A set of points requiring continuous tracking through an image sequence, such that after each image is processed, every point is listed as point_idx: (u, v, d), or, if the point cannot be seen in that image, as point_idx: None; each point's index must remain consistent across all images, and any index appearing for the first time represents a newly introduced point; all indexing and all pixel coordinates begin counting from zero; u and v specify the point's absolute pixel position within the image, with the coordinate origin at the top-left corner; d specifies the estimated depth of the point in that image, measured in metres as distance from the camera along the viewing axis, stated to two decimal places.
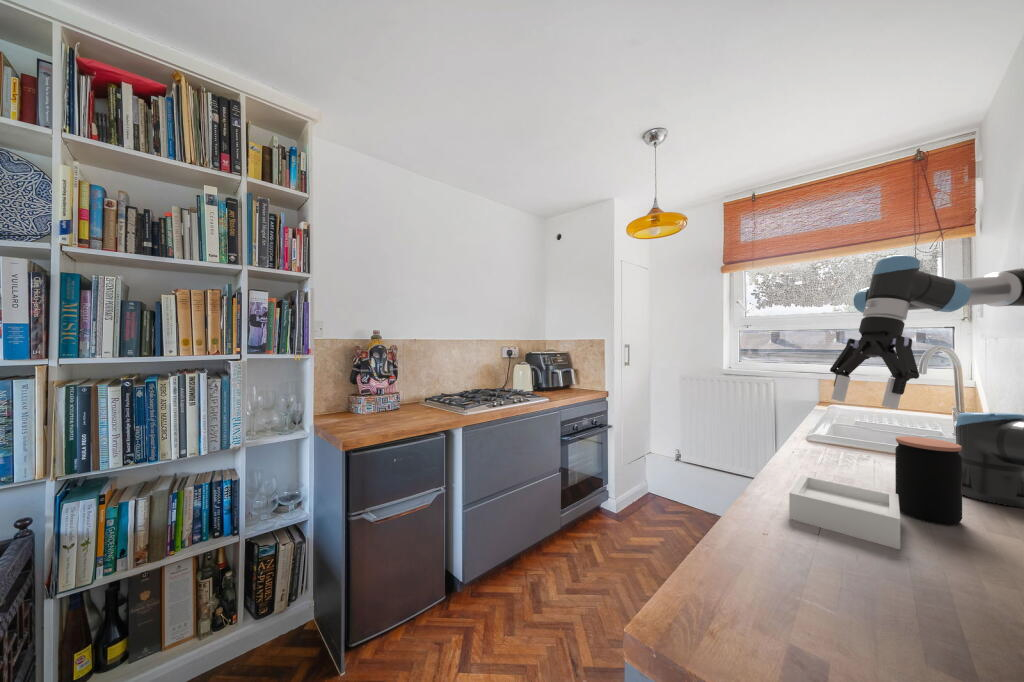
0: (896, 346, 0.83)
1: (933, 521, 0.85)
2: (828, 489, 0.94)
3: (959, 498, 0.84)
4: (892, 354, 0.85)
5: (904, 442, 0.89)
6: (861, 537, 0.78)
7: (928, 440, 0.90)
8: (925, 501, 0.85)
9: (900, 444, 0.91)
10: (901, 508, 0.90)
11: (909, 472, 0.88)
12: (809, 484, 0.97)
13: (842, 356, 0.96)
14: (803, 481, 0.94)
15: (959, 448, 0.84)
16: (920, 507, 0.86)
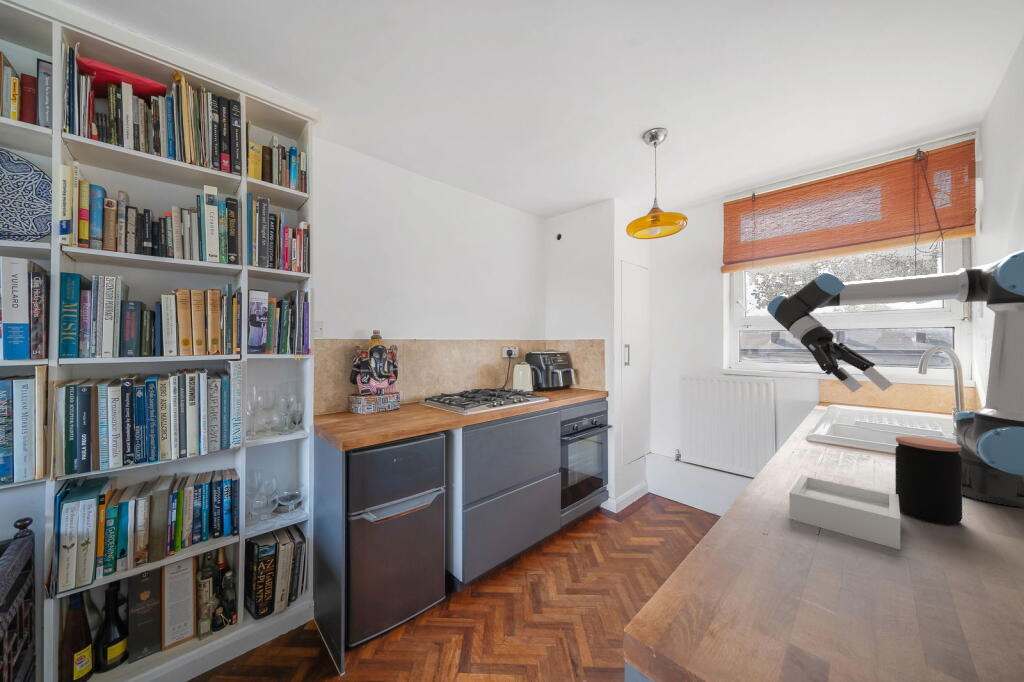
0: None
1: (933, 521, 0.85)
2: (828, 489, 0.94)
3: (959, 498, 0.84)
4: (827, 353, 1.05)
5: (904, 442, 0.89)
6: (861, 537, 0.78)
7: (928, 440, 0.90)
8: (925, 501, 0.85)
9: (900, 444, 0.91)
10: (901, 508, 0.90)
11: (909, 472, 0.88)
12: (809, 484, 0.97)
13: None
14: (803, 481, 0.94)
15: (959, 448, 0.84)
16: (920, 507, 0.86)
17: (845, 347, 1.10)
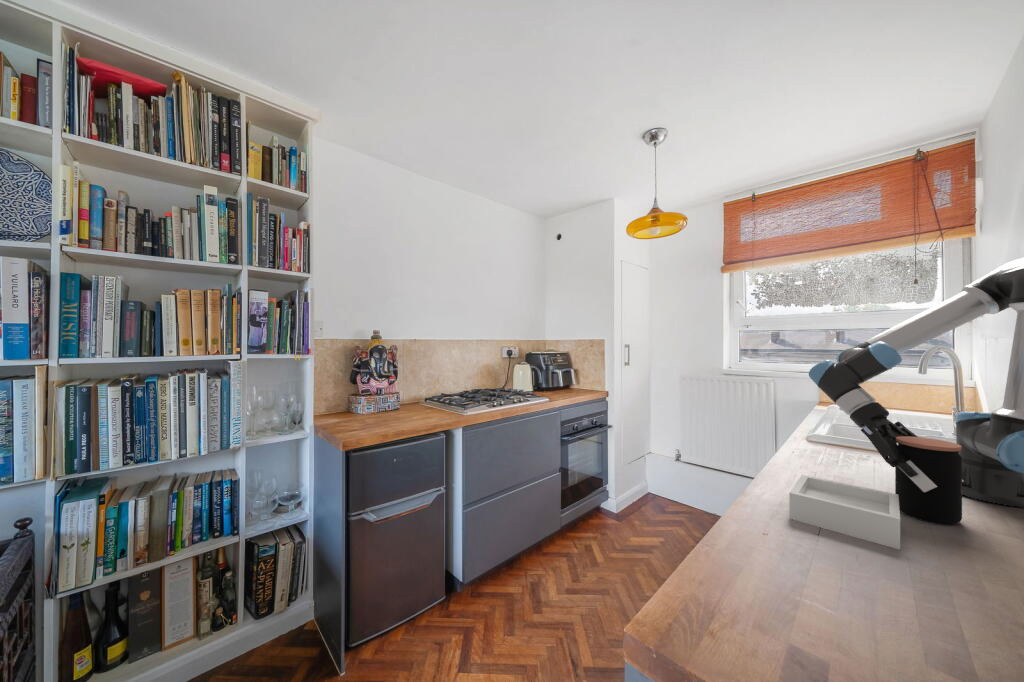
0: None
1: (933, 521, 0.85)
2: (828, 489, 0.94)
3: (959, 498, 0.84)
4: (886, 438, 0.93)
5: (904, 442, 0.89)
6: (861, 537, 0.78)
7: (928, 440, 0.90)
8: (925, 501, 0.85)
9: (900, 444, 0.91)
10: (901, 508, 0.90)
11: None
12: (809, 484, 0.97)
13: None
14: (803, 481, 0.94)
15: (959, 448, 0.84)
16: (920, 507, 0.86)
17: (903, 428, 0.97)
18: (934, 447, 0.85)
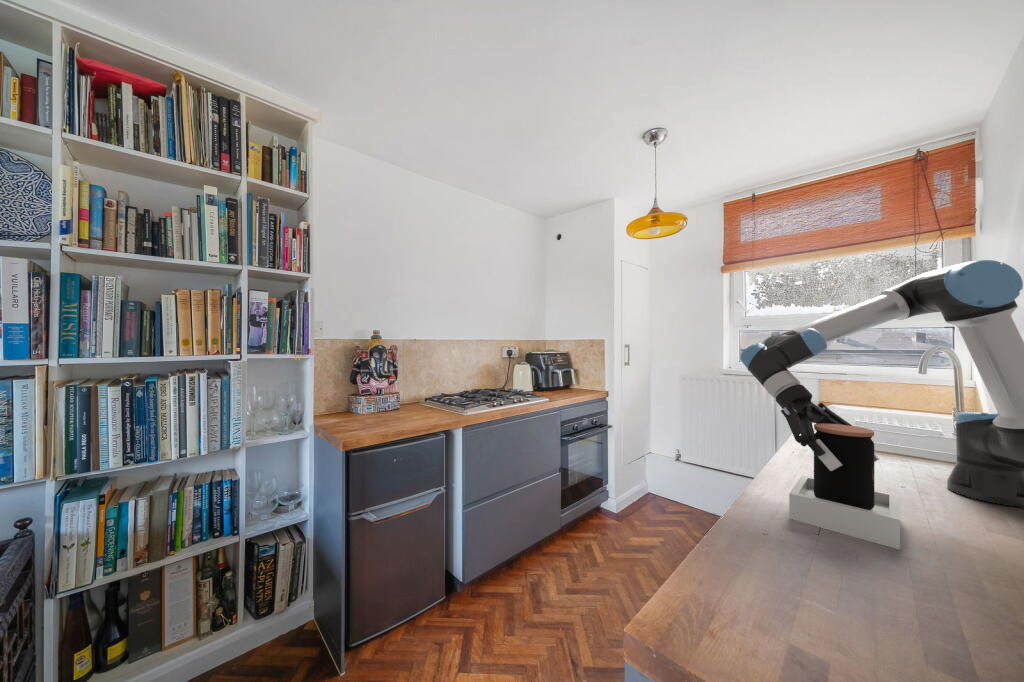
0: None
1: None
2: None
3: (870, 484, 0.82)
4: (803, 418, 0.91)
5: (819, 428, 0.87)
6: (861, 538, 0.78)
7: (844, 426, 0.88)
8: (837, 488, 0.83)
9: (817, 431, 0.89)
10: (817, 496, 0.88)
11: None
12: (809, 485, 0.97)
13: None
14: (803, 482, 0.94)
15: (870, 433, 0.82)
16: (833, 494, 0.84)
17: (826, 409, 0.95)
18: (846, 433, 0.83)
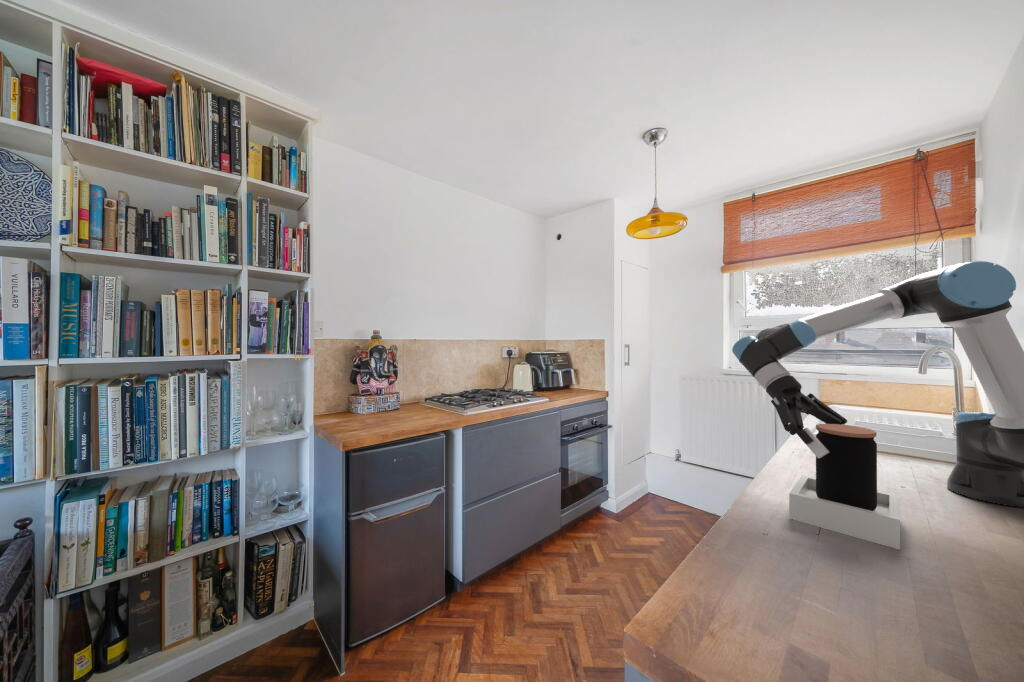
0: None
1: None
2: None
3: (874, 485, 0.82)
4: (793, 408, 0.93)
5: (823, 429, 0.87)
6: (861, 538, 0.78)
7: (846, 427, 0.88)
8: (842, 490, 0.83)
9: (820, 432, 0.88)
10: (820, 497, 0.87)
11: (828, 460, 0.85)
12: (809, 485, 0.97)
13: None
14: (803, 482, 0.94)
15: (874, 434, 0.82)
16: (838, 496, 0.84)
17: (815, 399, 0.97)
18: (851, 434, 0.82)
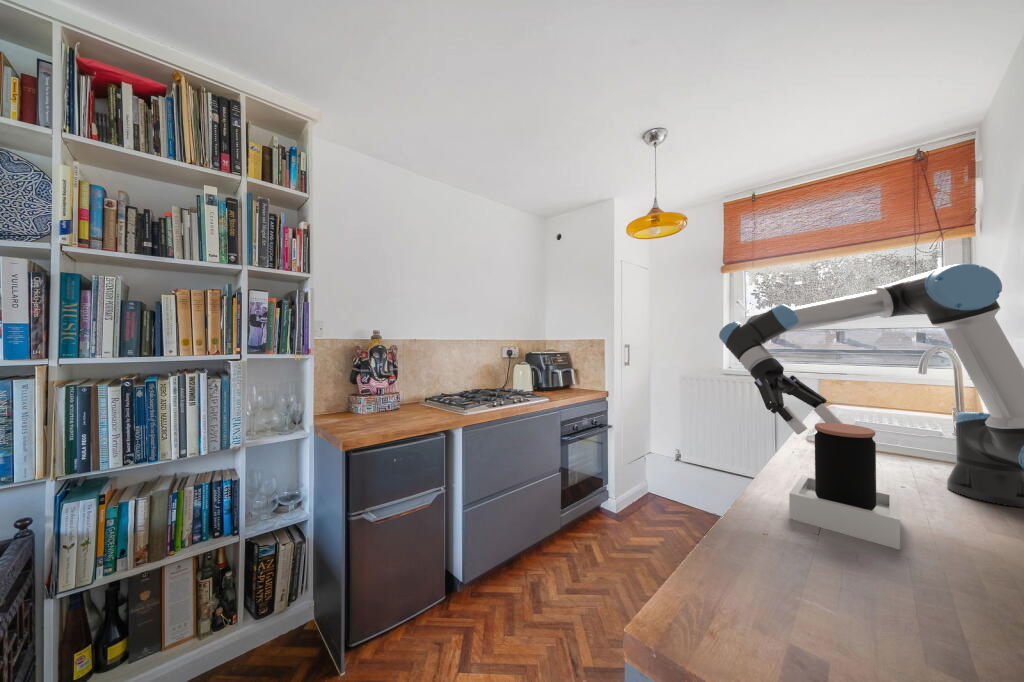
0: None
1: None
2: None
3: (872, 484, 0.82)
4: (774, 388, 0.98)
5: (821, 429, 0.86)
6: (861, 538, 0.78)
7: (845, 426, 0.88)
8: (841, 490, 0.83)
9: (818, 431, 0.88)
10: (819, 497, 0.87)
11: (826, 460, 0.85)
12: (809, 484, 0.97)
13: None
14: (803, 482, 0.94)
15: (872, 434, 0.82)
16: (836, 496, 0.84)
17: (796, 381, 1.02)
18: (849, 434, 0.82)
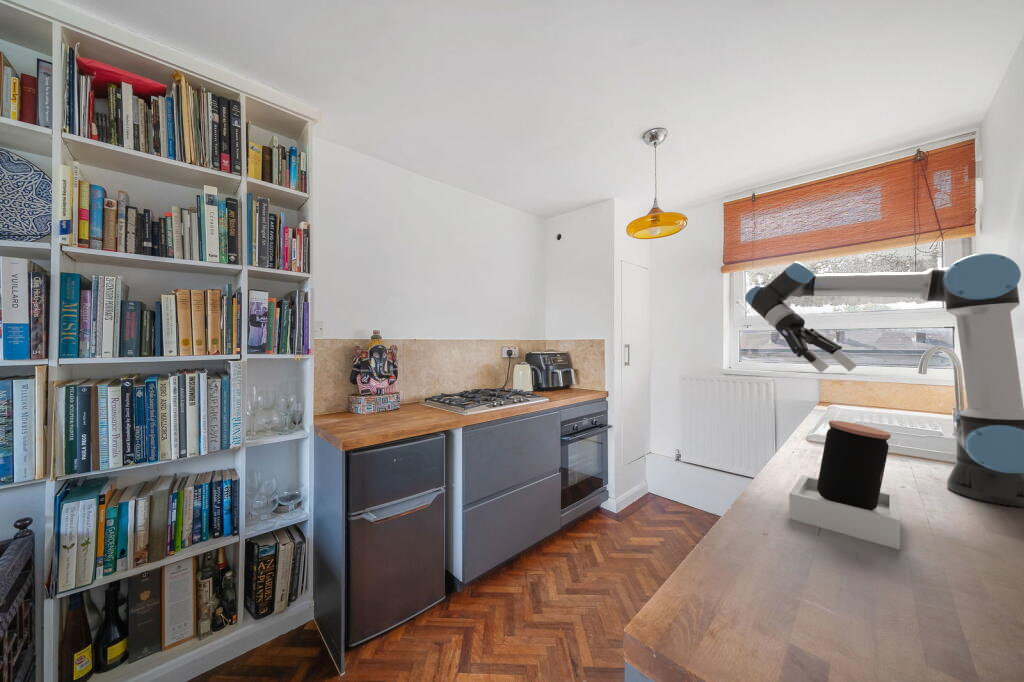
0: None
1: None
2: None
3: (876, 485, 0.81)
4: (798, 337, 1.14)
5: (833, 425, 0.86)
6: (861, 538, 0.78)
7: (861, 426, 0.86)
8: (840, 485, 0.83)
9: (830, 427, 0.88)
10: (819, 490, 0.88)
11: (832, 454, 0.86)
12: (809, 484, 0.97)
13: None
14: (803, 482, 0.94)
15: (886, 436, 0.80)
16: (835, 490, 0.84)
17: (815, 332, 1.18)
18: (859, 432, 0.82)
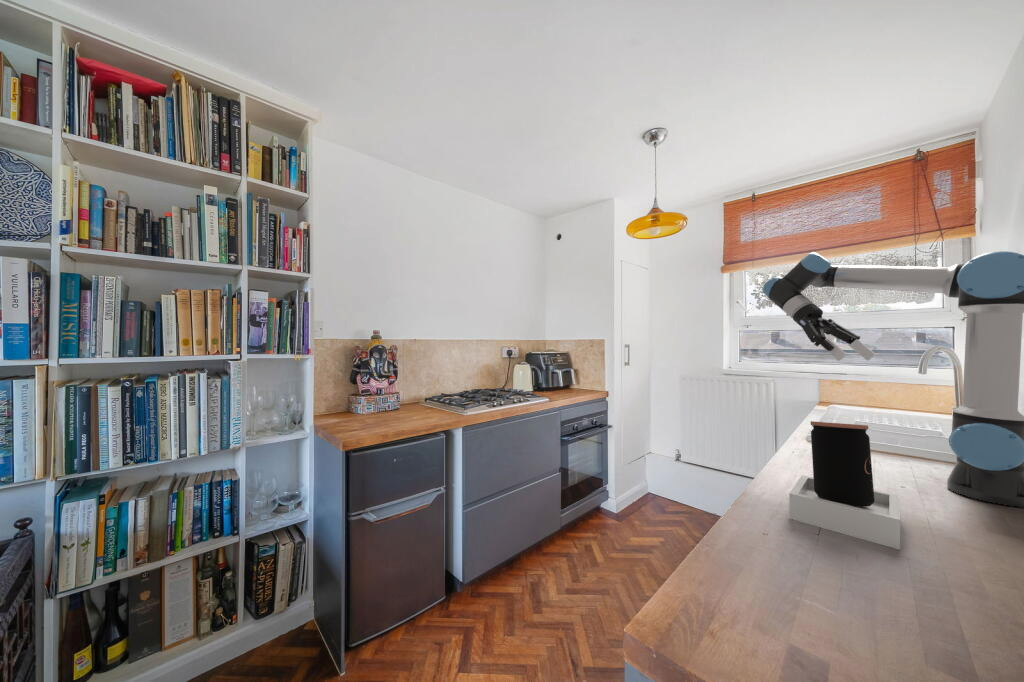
0: None
1: (835, 499, 0.84)
2: None
3: (861, 477, 0.83)
4: (816, 327, 1.16)
5: (811, 422, 0.92)
6: (861, 538, 0.78)
7: None
8: (826, 479, 0.86)
9: None
10: (814, 490, 0.90)
11: (815, 451, 0.90)
12: (809, 484, 0.97)
13: None
14: (803, 482, 0.94)
15: (858, 425, 0.84)
16: (823, 485, 0.86)
17: (833, 323, 1.20)
18: (830, 424, 0.87)
